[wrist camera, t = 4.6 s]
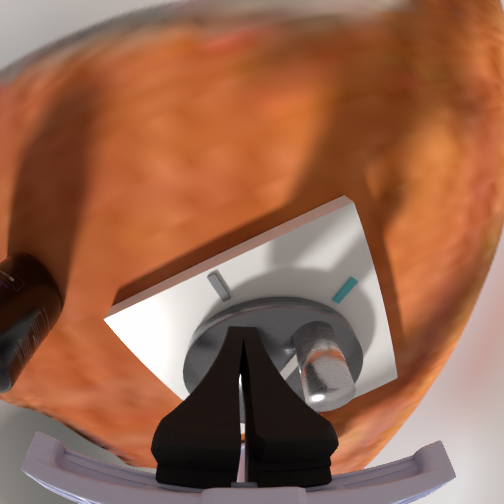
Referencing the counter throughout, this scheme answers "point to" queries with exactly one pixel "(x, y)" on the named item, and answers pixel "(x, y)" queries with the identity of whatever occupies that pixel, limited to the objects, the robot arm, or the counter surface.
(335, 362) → the dial
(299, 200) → the counter surface
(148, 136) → the counter surface
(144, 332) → the dial plate
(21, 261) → the supplement bottle
